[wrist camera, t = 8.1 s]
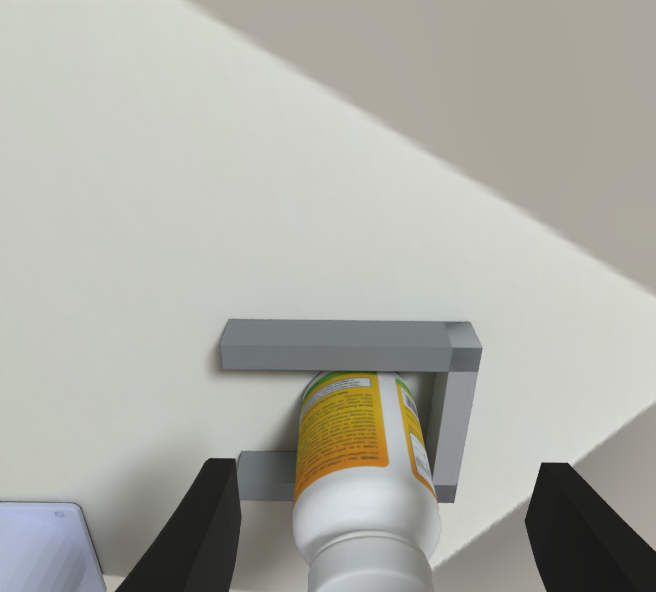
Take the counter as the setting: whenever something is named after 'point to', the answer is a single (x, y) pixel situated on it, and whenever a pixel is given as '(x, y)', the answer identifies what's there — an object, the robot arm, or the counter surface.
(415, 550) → the supplement bottle
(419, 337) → the gray u-shaped bracket
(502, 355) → the counter surface
